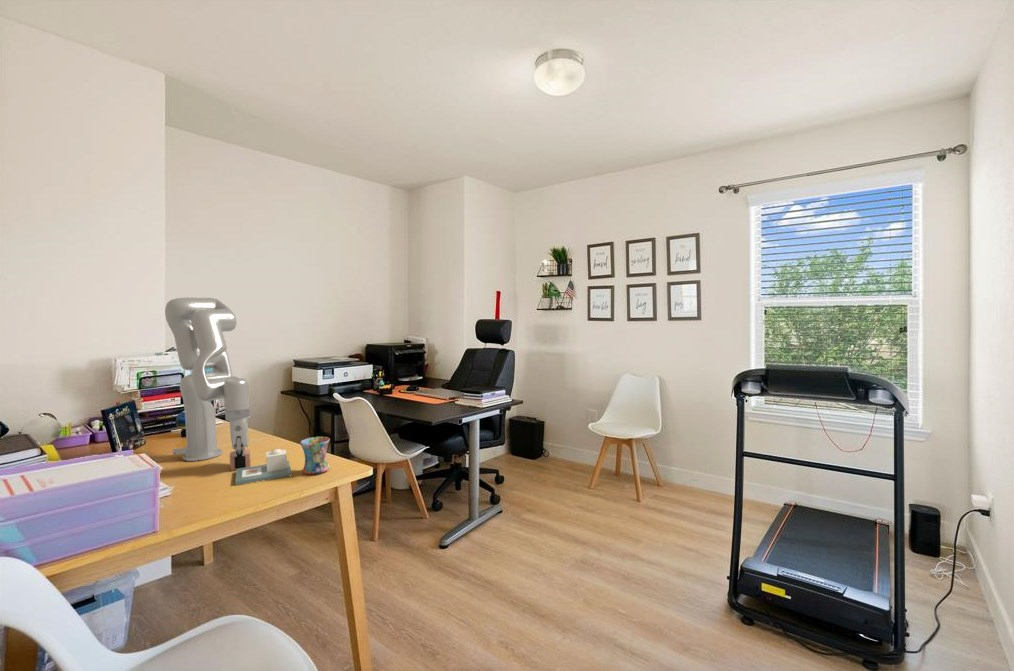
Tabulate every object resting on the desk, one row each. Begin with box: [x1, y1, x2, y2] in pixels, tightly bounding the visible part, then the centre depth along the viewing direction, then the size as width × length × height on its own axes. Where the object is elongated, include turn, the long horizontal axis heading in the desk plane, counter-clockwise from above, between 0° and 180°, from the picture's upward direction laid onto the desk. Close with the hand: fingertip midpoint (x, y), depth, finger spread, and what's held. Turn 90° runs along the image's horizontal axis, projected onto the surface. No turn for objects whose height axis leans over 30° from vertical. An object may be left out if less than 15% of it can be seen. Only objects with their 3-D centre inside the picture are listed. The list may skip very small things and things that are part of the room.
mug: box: [299, 436, 331, 475], centre depth 158 cm, size 12×9×11 cm
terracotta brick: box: [229, 448, 252, 471], centre depth 166 cm, size 6×6×5 cm
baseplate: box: [235, 448, 293, 486], centre depth 158 cm, size 16×14×7 cm
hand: (240, 464), depth 166 cm, fingers closed on terracotta brick, 6 cm apart
